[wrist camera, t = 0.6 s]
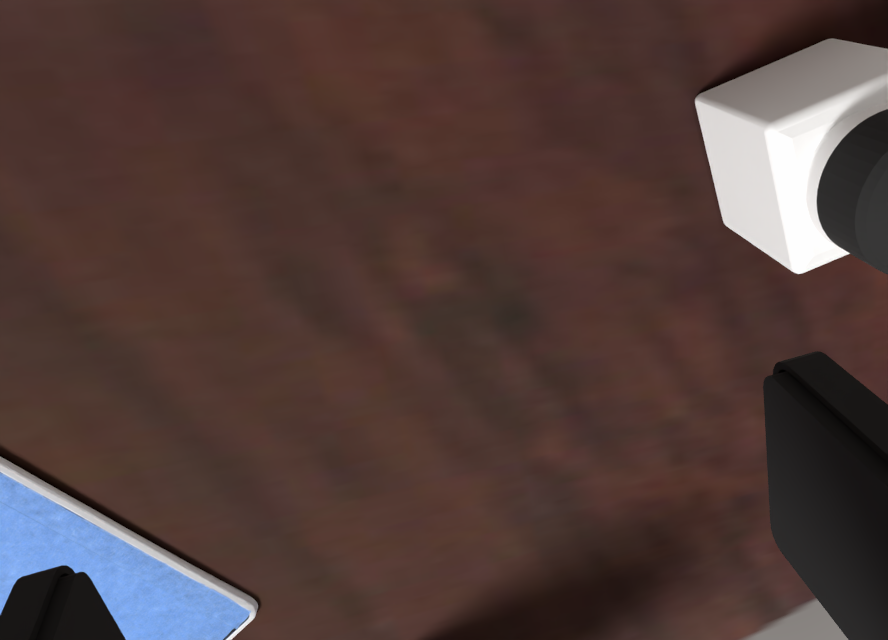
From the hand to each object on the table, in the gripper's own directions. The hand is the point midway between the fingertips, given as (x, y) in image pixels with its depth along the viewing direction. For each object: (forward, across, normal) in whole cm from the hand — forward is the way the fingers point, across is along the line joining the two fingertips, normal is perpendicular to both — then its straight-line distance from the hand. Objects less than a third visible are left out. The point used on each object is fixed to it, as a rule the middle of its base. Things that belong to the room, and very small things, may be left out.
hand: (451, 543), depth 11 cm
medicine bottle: (+29, -20, +6) cm, 35 cm away
